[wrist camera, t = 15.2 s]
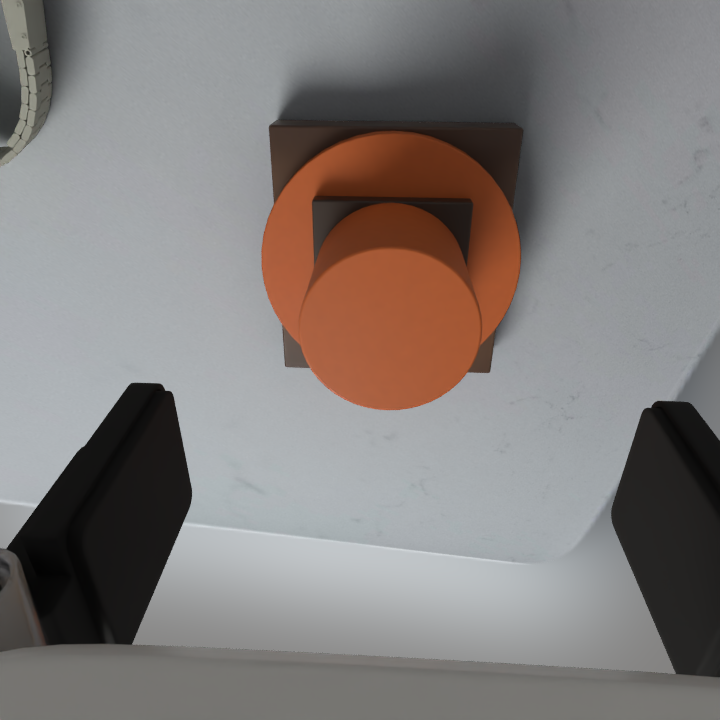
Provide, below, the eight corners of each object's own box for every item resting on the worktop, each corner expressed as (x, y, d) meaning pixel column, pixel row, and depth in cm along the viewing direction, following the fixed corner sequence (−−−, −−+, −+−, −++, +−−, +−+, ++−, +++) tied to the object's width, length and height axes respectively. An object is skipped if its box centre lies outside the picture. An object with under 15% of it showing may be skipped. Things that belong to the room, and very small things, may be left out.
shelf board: (275, 119, 22) (268, 124, 20) (515, 122, 21) (524, 128, 20) (289, 351, 27) (284, 367, 25) (485, 356, 26) (490, 373, 25)
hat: (253, 128, 20) (205, 161, 15) (537, 132, 20) (589, 167, 15) (273, 369, 25) (242, 458, 20) (500, 376, 25) (530, 468, 20)
